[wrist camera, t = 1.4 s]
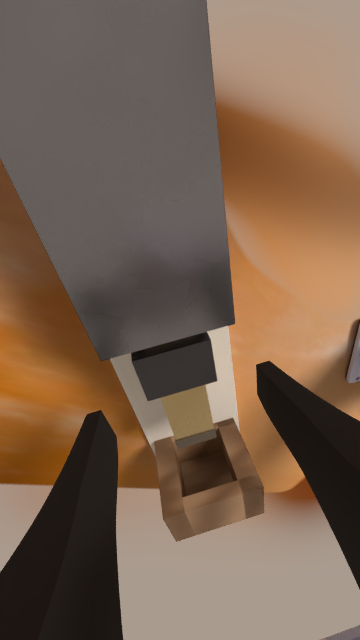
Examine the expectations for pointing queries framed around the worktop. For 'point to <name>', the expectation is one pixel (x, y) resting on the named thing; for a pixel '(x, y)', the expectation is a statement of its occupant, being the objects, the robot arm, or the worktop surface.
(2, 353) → the worktop surface
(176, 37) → the sleeve
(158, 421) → the board
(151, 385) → the plug
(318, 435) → the robot arm
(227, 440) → the socket
